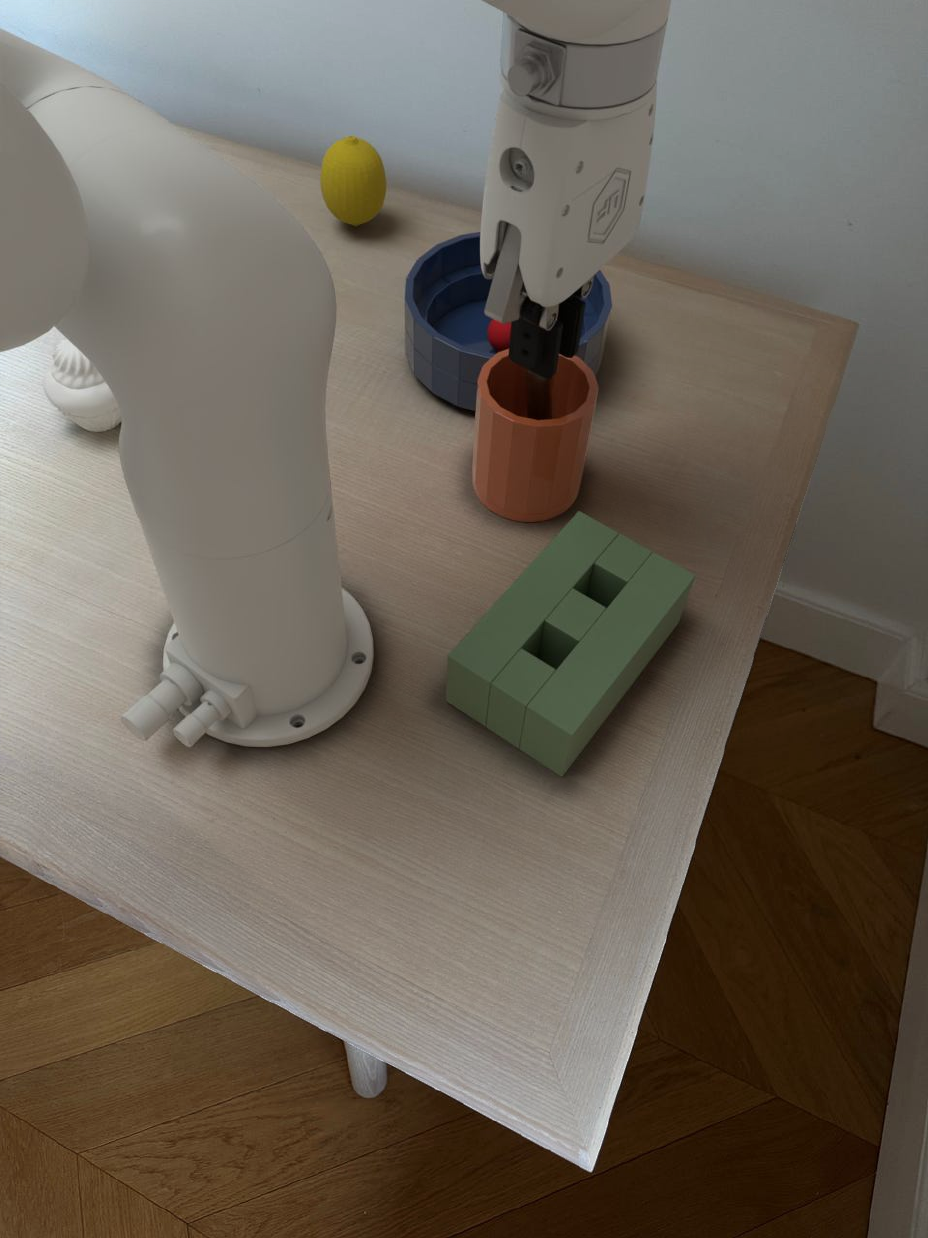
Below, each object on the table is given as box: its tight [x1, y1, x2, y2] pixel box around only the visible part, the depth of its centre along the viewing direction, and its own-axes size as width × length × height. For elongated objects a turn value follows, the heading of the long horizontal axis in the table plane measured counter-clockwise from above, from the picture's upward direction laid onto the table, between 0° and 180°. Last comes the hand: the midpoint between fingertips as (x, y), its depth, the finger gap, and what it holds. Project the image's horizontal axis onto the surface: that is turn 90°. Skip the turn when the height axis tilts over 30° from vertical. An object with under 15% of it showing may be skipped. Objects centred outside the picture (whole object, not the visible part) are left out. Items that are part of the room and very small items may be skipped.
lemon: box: [319, 135, 387, 227], centre depth 85 cm, size 6×6×8 cm
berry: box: [487, 319, 511, 352], centre depth 77 cm, size 3×3×3 cm
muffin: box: [42, 337, 122, 433], centre depth 71 cm, size 6×6×7 cm
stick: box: [525, 368, 552, 420], centre depth 64 cm, size 2×2×16 cm
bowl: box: [404, 231, 613, 412], centre depth 77 cm, size 15×15×6 cm
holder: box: [445, 510, 696, 778], centre depth 61 cm, size 8×14×5 cm, turn 144°
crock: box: [471, 349, 599, 523], centre depth 68 cm, size 8×8×9 cm
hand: (543, 355), depth 62 cm, fingers closed on stick, 1 cm apart
